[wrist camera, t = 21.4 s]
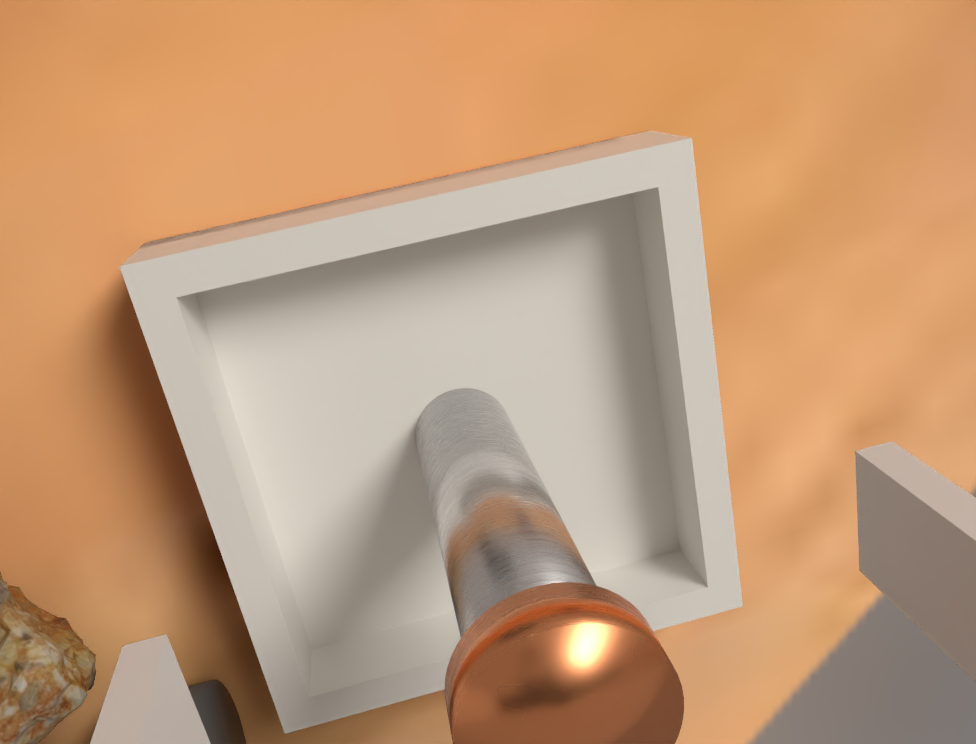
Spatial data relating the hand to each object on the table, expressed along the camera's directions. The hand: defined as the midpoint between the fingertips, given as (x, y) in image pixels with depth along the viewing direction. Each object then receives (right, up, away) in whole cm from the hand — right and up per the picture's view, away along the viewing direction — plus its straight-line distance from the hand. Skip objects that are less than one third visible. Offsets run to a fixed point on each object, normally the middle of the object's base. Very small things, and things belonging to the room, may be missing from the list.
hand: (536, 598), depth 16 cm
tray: (-2, +3, +10) cm, 10 cm away
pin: (-2, +2, +9) cm, 10 cm away
